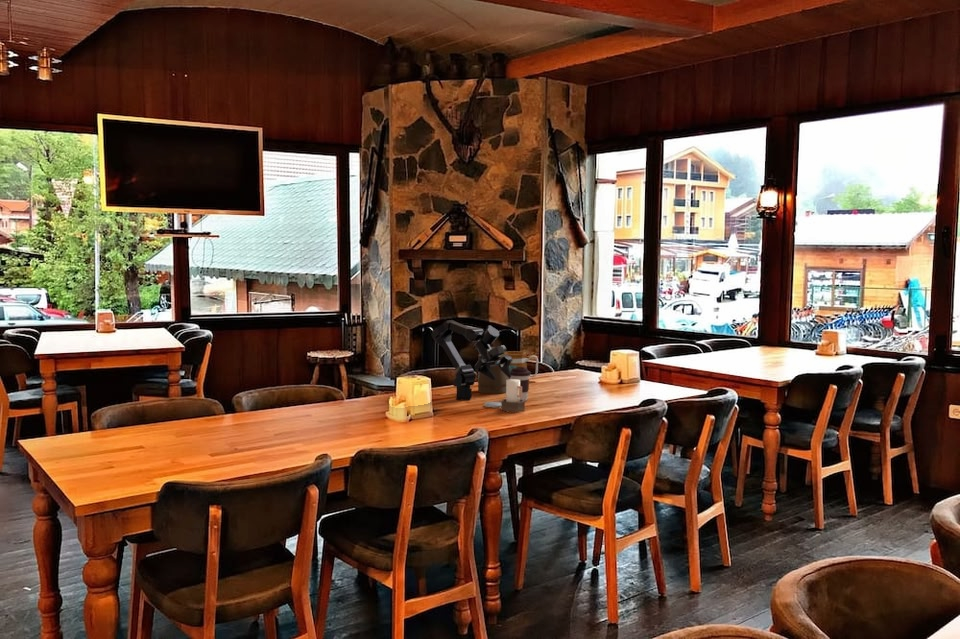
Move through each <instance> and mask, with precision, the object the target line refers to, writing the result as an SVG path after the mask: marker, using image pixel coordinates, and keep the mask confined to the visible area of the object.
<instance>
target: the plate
mask: <svg viewBox="0 0 960 639" xmlns="http://www.w3.org/2000/svg"><path fill="white" fill-rule="evenodd" d="M484 406H486V407H485V408H487V407H493V408H492V409H500V408H499V407H501V401H485V402H484V403H483V407H484Z"/></svg>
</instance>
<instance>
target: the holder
mask: <svg viewBox="0 0 960 639" xmlns="http://www.w3.org/2000/svg"><path fill="white" fill-rule="evenodd" d="M500 402H501V408H500V409H501V410H503V411H502V412H505V411H508V412H507V413H520V412H519V411H522V412H525V411H526V410H525V409H526V404H525V403H526V402H525V400H523V399H520V402H517V403H515V402H506V398H505V399H504V398H503V399H501V400H500Z"/></svg>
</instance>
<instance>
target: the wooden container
mask: <svg viewBox="0 0 960 639" xmlns="http://www.w3.org/2000/svg"><path fill="white" fill-rule="evenodd" d="M490 347H491V348H492V349H493V348H495V347H496V346H490ZM477 356H478V360H477V362H478V361H479V359H481V358H480V357H481V355H480V353H479V354H478V355H477ZM504 356H508V355H507V354H502V355H500V358H498V360H501V359H502V357H504ZM490 368H491V370H492V372H493V374H494V376H495V378H496V379H495V380H493V379H491V378H489V377H488V376H486V375H484V374H482V373H479V372H477V375H478V376H477V386H478V387H477V390H478V392H479V393H481V392H482V393H481V394H486V393H491V394H490V395H498V394H499V393H501V394H506V380H507V379H508V377H507V376H506V375H505V374H504V373H503V372H502V371H501V370H500V369H501V368H500V367H499V366H498V365H495V366H490ZM499 395H500V394H499Z"/></svg>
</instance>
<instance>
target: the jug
mask: <svg viewBox="0 0 960 639" xmlns="http://www.w3.org/2000/svg"><path fill="white" fill-rule="evenodd" d="M505 395H506V396H505V399H506V402H515V403H517V402H520V398H522V386H520V380H519V379H507V380H506V393H505Z"/></svg>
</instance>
